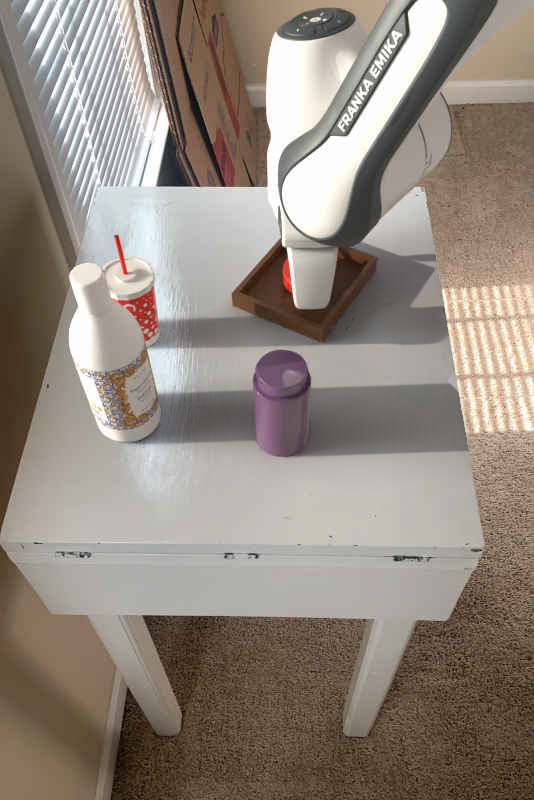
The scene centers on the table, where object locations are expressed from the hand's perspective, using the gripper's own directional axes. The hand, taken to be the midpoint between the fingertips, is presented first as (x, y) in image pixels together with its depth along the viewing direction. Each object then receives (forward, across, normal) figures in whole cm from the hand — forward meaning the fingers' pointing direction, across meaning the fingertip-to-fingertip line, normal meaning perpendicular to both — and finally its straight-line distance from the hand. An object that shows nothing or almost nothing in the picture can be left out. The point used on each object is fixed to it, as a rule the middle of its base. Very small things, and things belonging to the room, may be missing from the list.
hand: (305, 283), depth 85 cm
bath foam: (+1, +20, -20) cm, 28 cm away
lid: (-2, 0, 0) cm, 2 cm away
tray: (+1, 0, 0) cm, 1 cm away
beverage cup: (+1, +7, -20) cm, 21 cm away
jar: (+1, +22, -4) cm, 23 cm away
